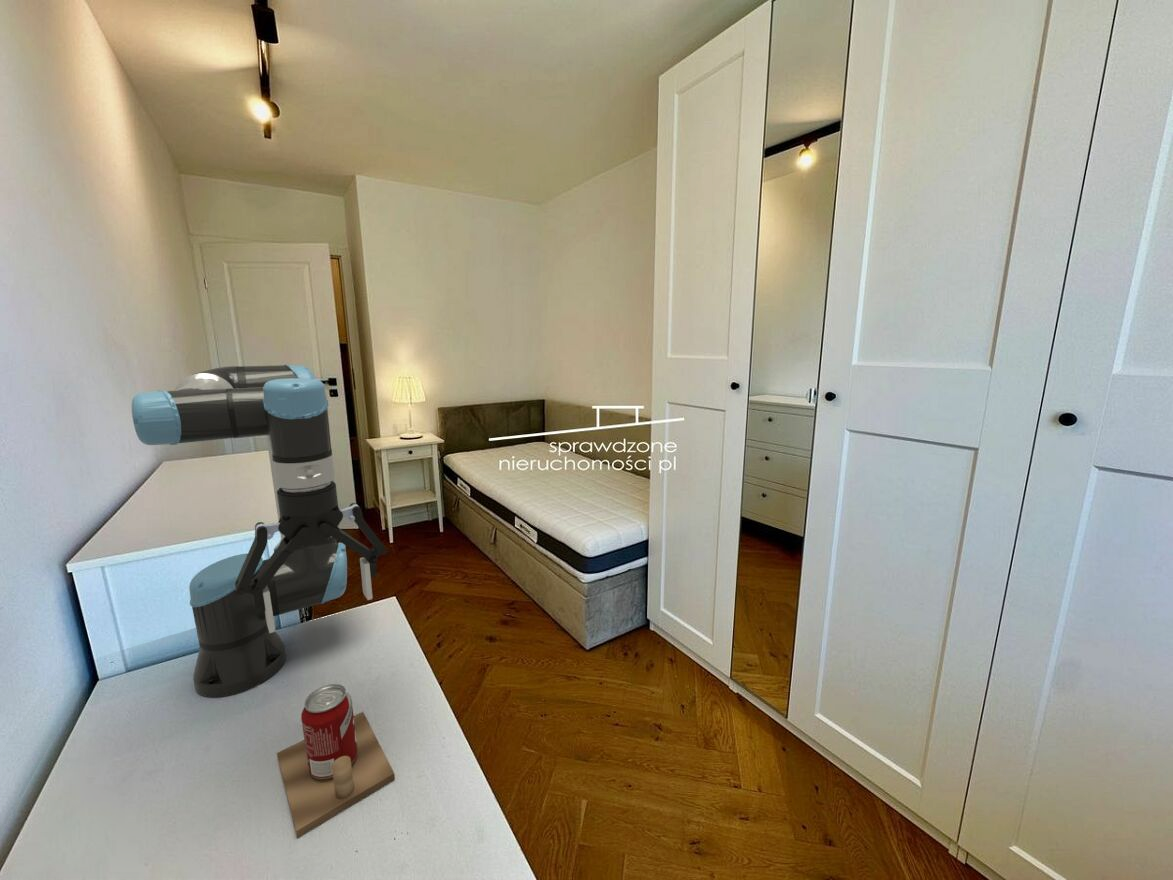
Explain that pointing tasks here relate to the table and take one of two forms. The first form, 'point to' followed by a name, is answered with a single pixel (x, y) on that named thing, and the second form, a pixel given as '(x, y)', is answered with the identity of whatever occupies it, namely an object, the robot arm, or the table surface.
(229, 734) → the table surface
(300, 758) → the pegboard
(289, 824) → the table surface
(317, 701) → the soda can
